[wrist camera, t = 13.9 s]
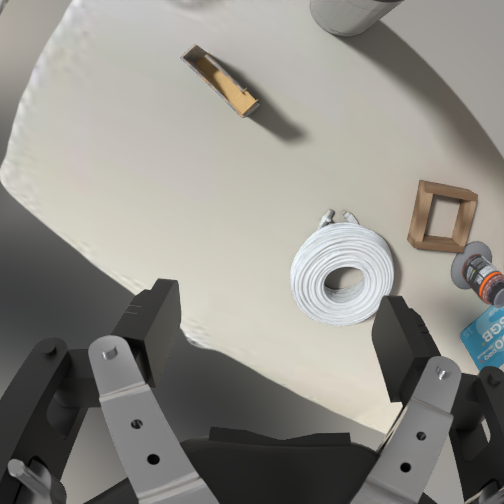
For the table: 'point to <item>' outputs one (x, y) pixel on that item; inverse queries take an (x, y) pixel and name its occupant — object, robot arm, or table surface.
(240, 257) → the table surface
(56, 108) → the table surface
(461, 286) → the felt coaster
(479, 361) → the data package
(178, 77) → the table surface
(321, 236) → the cable
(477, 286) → the supplement bottle
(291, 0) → the table surface
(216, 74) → the grey brown narrow holder
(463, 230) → the walnut holder
